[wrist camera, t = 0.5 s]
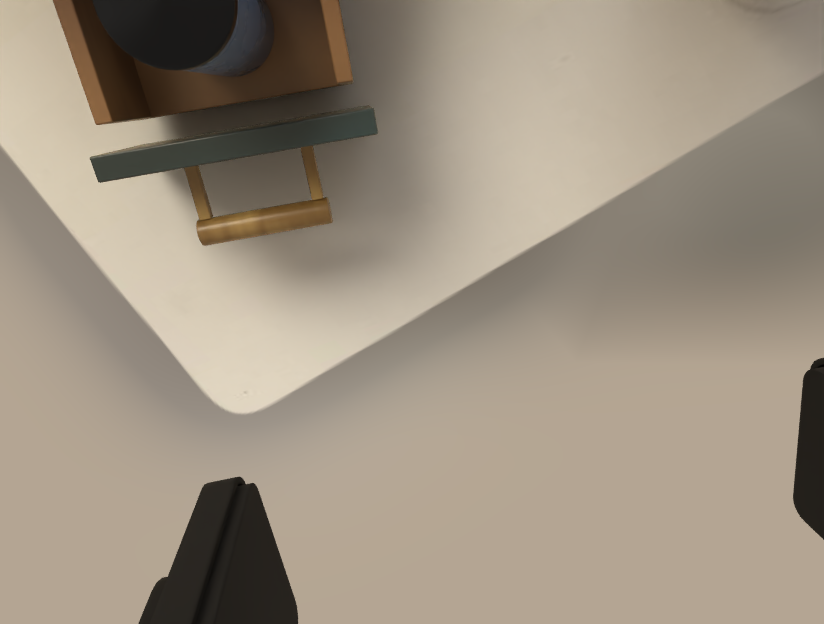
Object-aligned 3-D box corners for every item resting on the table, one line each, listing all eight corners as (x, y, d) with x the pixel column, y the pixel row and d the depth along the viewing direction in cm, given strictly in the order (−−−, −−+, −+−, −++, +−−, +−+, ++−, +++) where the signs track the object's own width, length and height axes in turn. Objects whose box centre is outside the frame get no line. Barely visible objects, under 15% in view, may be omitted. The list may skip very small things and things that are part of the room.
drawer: (386, 198, 35) (393, 221, 29) (169, 237, 35) (128, 269, 29) (320, -177, 28) (310, -253, 22) (49, -134, 28) (-39, -200, 22)
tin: (166, -17, 29) (66, -77, 19) (262, -33, 29) (212, -101, 19) (195, 84, 31) (117, 80, 21) (284, 69, 31) (251, 58, 21)
